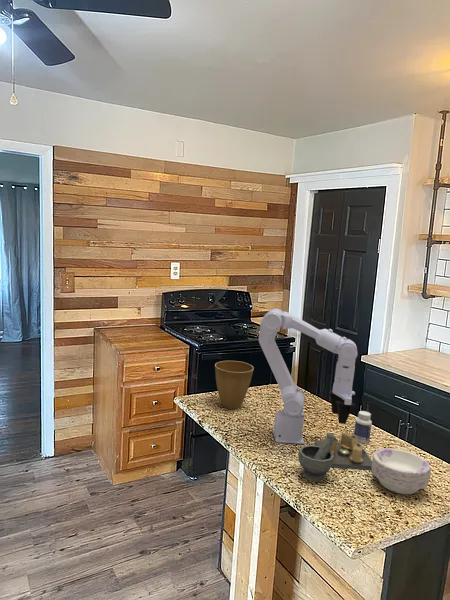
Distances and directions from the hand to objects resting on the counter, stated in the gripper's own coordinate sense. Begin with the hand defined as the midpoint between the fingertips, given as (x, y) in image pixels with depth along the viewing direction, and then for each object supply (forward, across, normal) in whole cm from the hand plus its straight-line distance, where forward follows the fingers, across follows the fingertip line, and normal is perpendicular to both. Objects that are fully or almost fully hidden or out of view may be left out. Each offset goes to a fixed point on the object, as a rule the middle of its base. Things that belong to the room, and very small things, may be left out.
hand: (338, 418), depth 151 cm
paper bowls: (+10, -22, -12) cm, 27 cm away
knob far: (+9, -2, -4) cm, 10 cm away
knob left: (+9, -7, +4) cm, 12 cm away
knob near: (+9, -11, -3) cm, 14 cm away
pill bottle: (+10, +7, -11) cm, 16 cm away
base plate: (+10, -6, -1) cm, 12 cm away
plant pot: (+10, +30, +33) cm, 46 cm away
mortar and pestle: (+10, -19, +11) cm, 24 cm away
